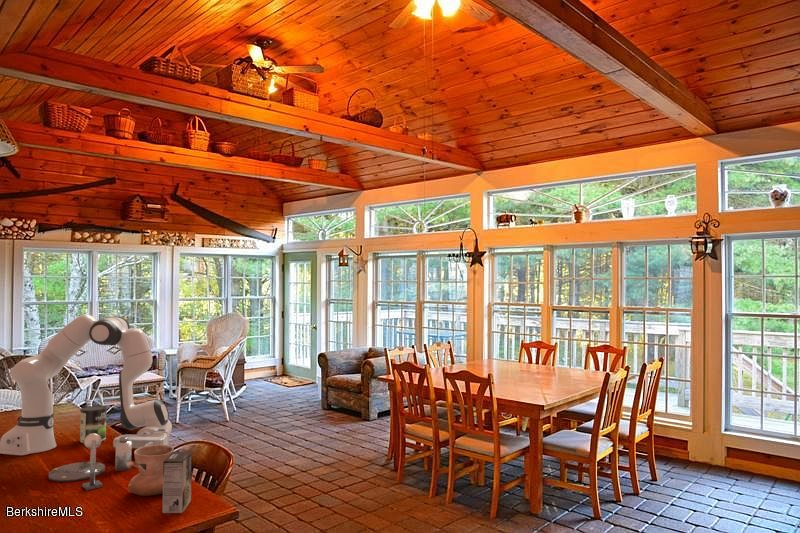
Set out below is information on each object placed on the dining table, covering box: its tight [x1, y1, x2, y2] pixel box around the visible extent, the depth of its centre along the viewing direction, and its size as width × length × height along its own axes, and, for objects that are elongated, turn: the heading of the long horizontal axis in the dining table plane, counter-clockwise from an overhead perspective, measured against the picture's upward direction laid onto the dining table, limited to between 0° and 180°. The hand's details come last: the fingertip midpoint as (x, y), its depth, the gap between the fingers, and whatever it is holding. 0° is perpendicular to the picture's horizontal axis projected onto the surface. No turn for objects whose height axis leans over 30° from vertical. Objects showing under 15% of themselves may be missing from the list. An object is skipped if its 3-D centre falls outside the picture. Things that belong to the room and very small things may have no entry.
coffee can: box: [79, 405, 108, 444], centre depth 248 cm, size 10×10×14 cm
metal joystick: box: [81, 433, 103, 491], centre depth 193 cm, size 5×5×18 cm
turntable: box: [48, 461, 106, 483], centre depth 206 cm, size 18×18×1 cm
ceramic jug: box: [126, 444, 175, 497], centre depth 190 cm, size 18×14×14 cm
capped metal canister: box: [114, 437, 133, 472], centre depth 212 cm, size 6×6×12 cm
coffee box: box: [161, 451, 192, 514], centre depth 177 cm, size 9×6×16 cm
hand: (131, 447), depth 218 cm, fingers open, 8 cm apart
